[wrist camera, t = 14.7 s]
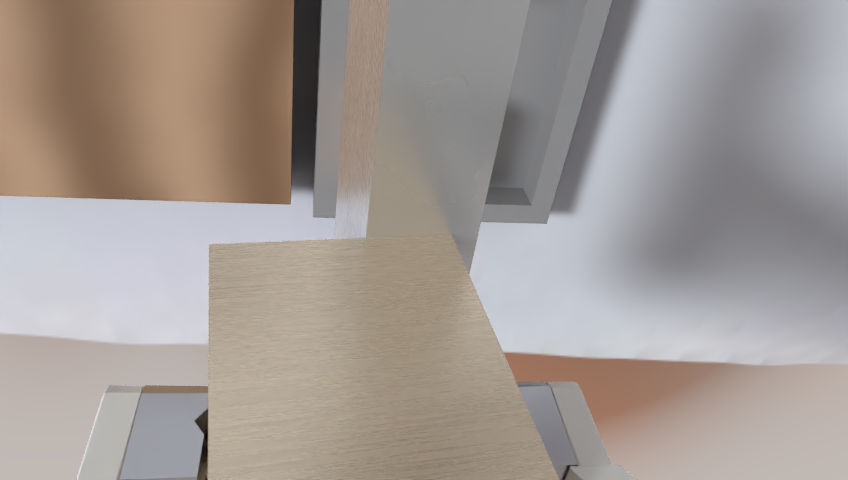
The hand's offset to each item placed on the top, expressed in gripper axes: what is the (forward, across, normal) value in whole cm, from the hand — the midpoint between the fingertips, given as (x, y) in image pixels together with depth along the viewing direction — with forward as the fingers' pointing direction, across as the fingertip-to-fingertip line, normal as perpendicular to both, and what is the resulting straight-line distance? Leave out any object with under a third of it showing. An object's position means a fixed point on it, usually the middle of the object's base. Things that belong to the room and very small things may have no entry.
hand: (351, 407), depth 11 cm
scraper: (+5, +1, 0) cm, 5 cm away
